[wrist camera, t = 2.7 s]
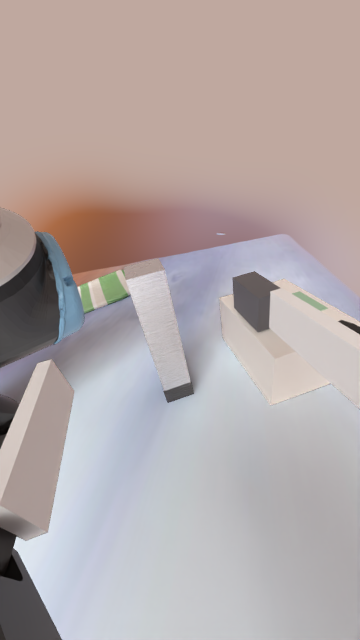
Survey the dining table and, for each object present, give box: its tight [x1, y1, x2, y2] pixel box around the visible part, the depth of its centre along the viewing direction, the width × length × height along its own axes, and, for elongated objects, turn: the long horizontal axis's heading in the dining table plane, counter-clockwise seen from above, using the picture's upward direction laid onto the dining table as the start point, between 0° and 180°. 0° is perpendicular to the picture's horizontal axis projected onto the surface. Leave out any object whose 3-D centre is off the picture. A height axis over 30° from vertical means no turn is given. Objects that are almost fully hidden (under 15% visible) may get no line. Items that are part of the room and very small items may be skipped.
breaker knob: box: [233, 271, 280, 332], centre depth 27 cm, size 3×6×4 cm, turn 16°
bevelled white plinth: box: [219, 279, 360, 406], centre depth 31 cm, size 11×14×8 cm
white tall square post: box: [124, 258, 194, 403], centre depth 26 cm, size 4×4×18 cm
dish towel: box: [77, 270, 131, 314], centre depth 62 cm, size 18×23×3 cm
